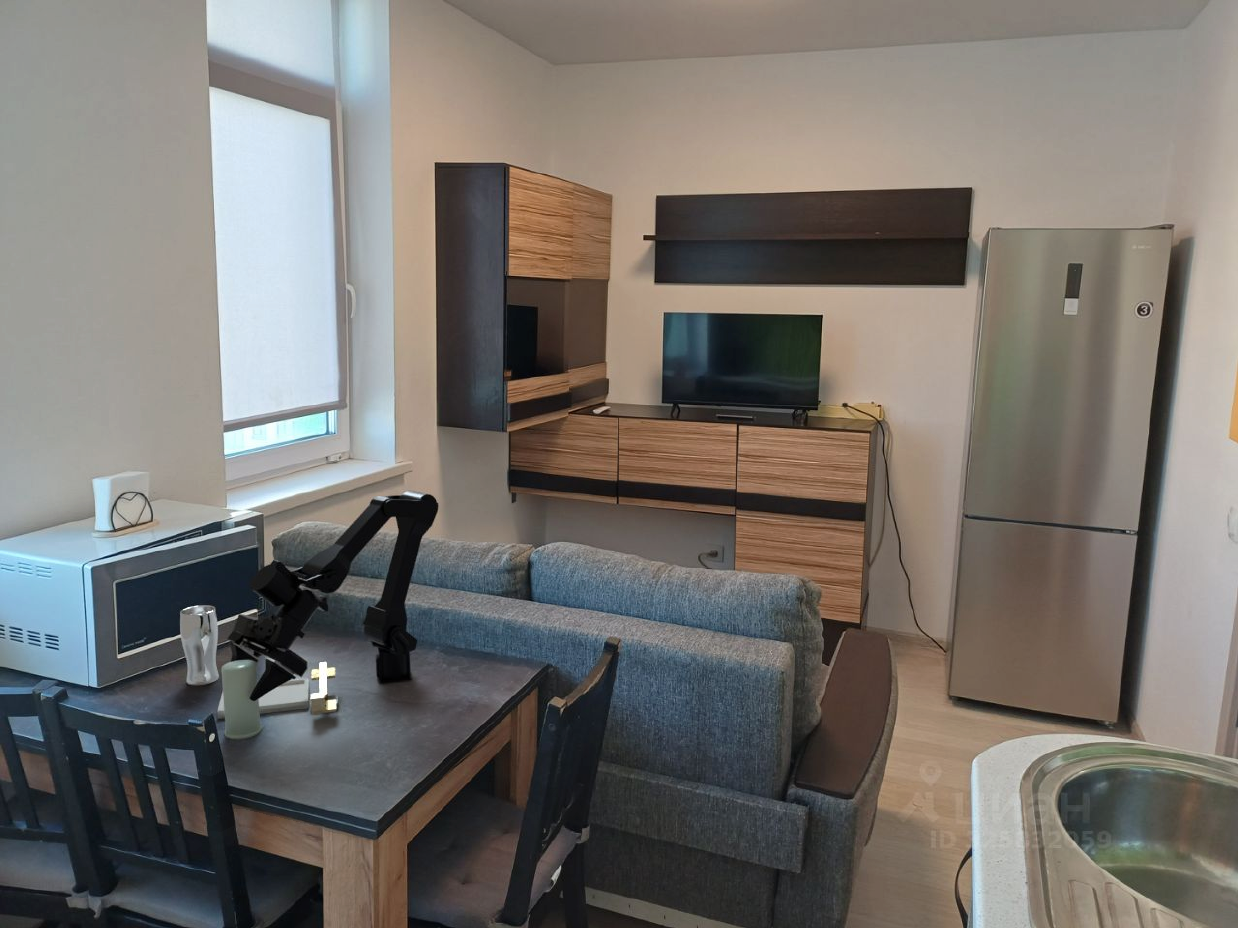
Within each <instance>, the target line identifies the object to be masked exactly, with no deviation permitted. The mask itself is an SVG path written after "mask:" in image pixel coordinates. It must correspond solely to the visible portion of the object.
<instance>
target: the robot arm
mask: <svg viewBox="0 0 1238 928" xmlns="http://www.w3.org/2000/svg"><path fill="white" fill-rule="evenodd" d="M438 512H439V502H438V501H437V499H436V498H435V496H434V495H432V494H430V493H424V492H419V491H414V490H407V491H405V492H404V493H402V494H399V495H398V494H397V495H392V494H391V495H386V496H382V495H378V496H374V497H373V498H372V499H371V500H370V502H369V504H368V506H367V507H366V508H365V509H364V510H363V511H362V513H360V515H359V516H358V517H357V518H356V519H355V520H354V521H353V522H352V523H351V524H350V526H349V527H348V528H347V529H346V530H345V531H344V532H343V533H342V534H341V535H340V537H339V538H338V539H337V540H336V541H335V542H334V543H333V544H332V545H331V546H329V547H327V548H325V549H323V550H321V551H319V552H317V553H316V554H315V555H314V556H313V557H311V558H309V560H307V561H306V562H305V563H304V564H303V566H300V567H299V568H298V567H297V568H295V569H292V570H290V569H289V568H287V567H286V565H285V564H284V563H282V561H280V560H277V559H273V560H272V561H271V563H270V564H266V565H265V566H263V567H262V568H260V569H259V570H258V571H255V573H254V574H253V576H252V577H251V580H250V582H249V589H250V590H251V591H253V592H254V593H256V594H257V595H258V596H259V597H261V598H262V599H264V600H265V601H266V602H268V603H269V604H270V605H272V606H273V607H279V609H278V610H277V611H276V612H275V614H274V613H269V614H267V615H266V616H264V615H260V616H259V617H256V616H252V615H246V614H241V613H239V614H238V615H237V618H236V621H235V622H234V623H235V624H234V626H233V629H232V632H231V633H230V634H229V636H228V637H227V638H226V639H227V640H228V641H230V642H228V646H229V647H230V650H231V655H232V656H231V659H230V662H233V661H238V660H252V661H255V662H256V664H257V663H258V662H259V659H257V658H260V657H261V656H264V657H267V658H265V662H264V663H265V664H264V665H265V669H264V672H263V673H262V675H261V677H260V678H259V679H258V683H257V685H256V686H255V688H254V690H253V692H252V694H251V695H250V698H249V699H250V700H252V701H256V700H257V699H259V698H261V697H262V696H264V695H265V694H267V693H268V692H270V691H272V690H273V689H275V688H277V687H278V686H280V685H282V684H284V683H286V682H287V681H289V680H291V679H297V677H300V678H303V676H304V674H305V673H306V672H307V670H308V668H309V667H308V661H307V660H306V659H304V658H303V657H301V656H300V655H299V654H297V653H296V652H295V651H293V650H292V649H291V647H292V645H293V644H294V643H295V641H296V640H297V638H299V639H302V640H303V638H304V637H305V635H306V633H304V632H303V630H304V629H305V627H306V626H307V624H308V622H309V621H310V619H312V617H313V615H314V614H315V613H316V611H317V610H319V611H323V612H326V613H327V612H329V606H328V598H327V597H326V596H323V595H321V594H320V595H317V594H315V593H314V592H313V590H315V591H317V592H321V593H324V594H333V593H335V592H336V591H338V590H339V589H340V588H341V586H342V585H343V583H344V582H345V580H346V579H347V577H348V575H349V573H350V571H351V565H352V563H353V561H354V560H355V558H356V557H357V556H358V555H359V554H360V553H361V551H362V550H364V548H365V547H366V546H367V545H368V543H370V541H371V540H373V538H374V537H375V535H377V534H378V532H380V530H381V529H382V528H383V527H384V526H385V524H386V523H387V522H388V521H389V520H390V519H391V518H395V521H396V525H397V532H398V533H397V537H396V540H395V545H394V548H393V551H392V552H393V553H392V555H391V560H390V564H389V566H388V569H387V570H388V571H387V574H386V578H385V581H384V586H383V589H382V594H381V596H380V597H381V598H380V599H379V600H378V602H377V603H375V605H374V606H373V605H368V606H367V608H366V613H365V614H366V615H365V617H364V620H363V622H362V625H363V626H364V627H363V633H364V635H365V637H366V639H368V640H369V641H370V643H371V646H372V647H373V648H376V649H377V654H375V655H374V657H375V673H376V678H377V679H378V680H379V683H380V684H386V683H397V682H404V681H412V679H413V675H412V671H411V652H413V651H416V649H417V648H416V647H417V645H418V644H417V643H418V639H417V638H416V637H415V636H413V635H412V634H410V632H408V631H407V628H408V621H409V620H408V616H407V615H408V614H407V609H406V599H407V595H408V593H409V589H410V585H411V580H412V577H413V573H414V569H415V566H416V561H417V559H418V554H419V549H420V547H421V546H420V545H421V543H422V539H423V537H424V535H425V534H426V533H427V532H428V531H429V530H430V529H431V527H433V525H434V522H435V520H436V517H437V514H438ZM300 586H302V587H305V588H306V589H301V588H300ZM307 588H308V589H307ZM310 589H311V590H310ZM268 658H269V659H268ZM270 659H271V660H270ZM272 660H274V661H272ZM295 675H296V676H297V677H296V676H295Z"/></svg>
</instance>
